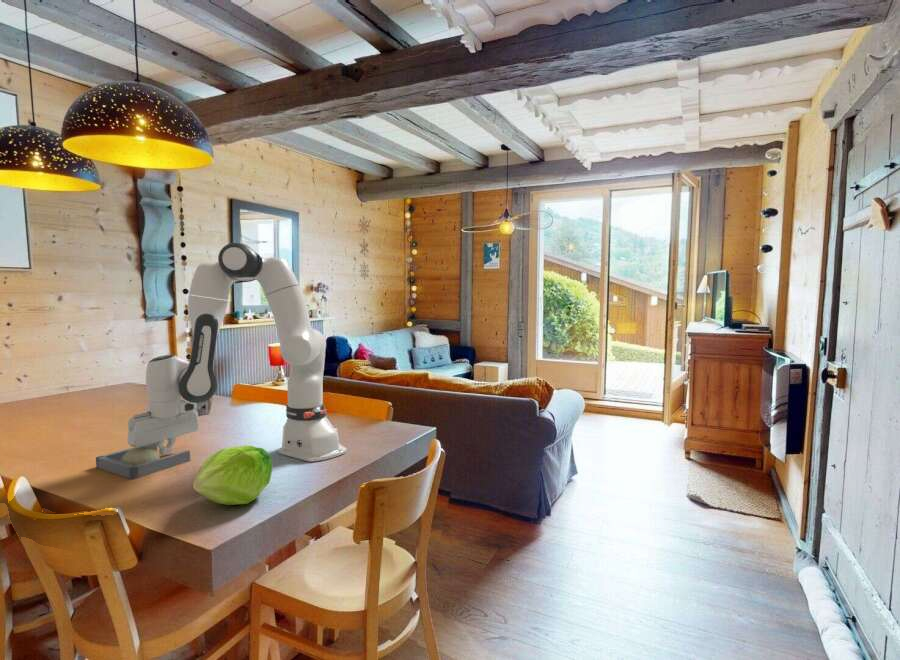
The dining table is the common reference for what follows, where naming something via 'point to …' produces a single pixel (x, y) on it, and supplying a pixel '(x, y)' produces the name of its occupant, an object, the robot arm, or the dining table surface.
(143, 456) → the sea urchin shell
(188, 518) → the dining table surface
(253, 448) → the lettuce
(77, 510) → the dining table surface
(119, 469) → the bay
